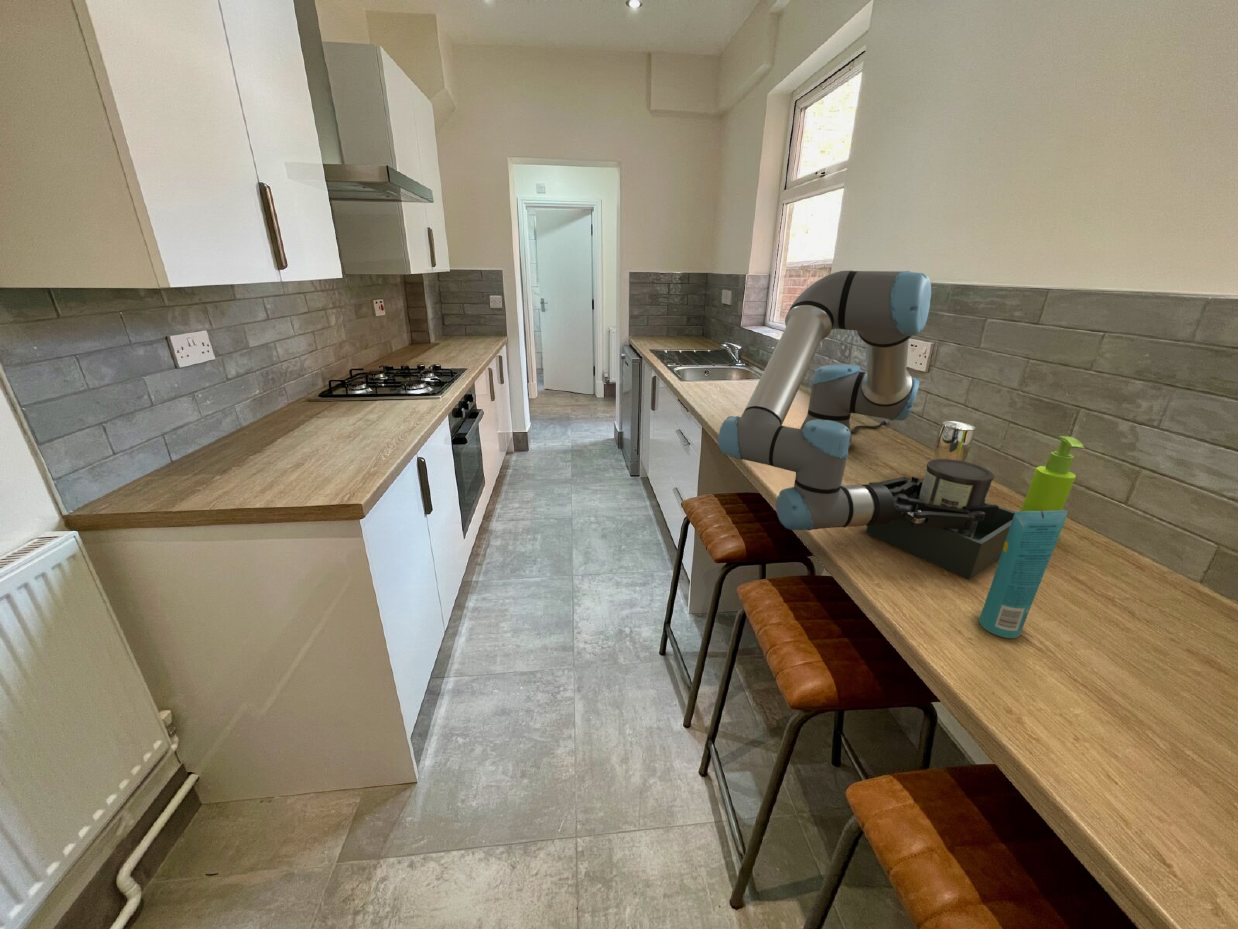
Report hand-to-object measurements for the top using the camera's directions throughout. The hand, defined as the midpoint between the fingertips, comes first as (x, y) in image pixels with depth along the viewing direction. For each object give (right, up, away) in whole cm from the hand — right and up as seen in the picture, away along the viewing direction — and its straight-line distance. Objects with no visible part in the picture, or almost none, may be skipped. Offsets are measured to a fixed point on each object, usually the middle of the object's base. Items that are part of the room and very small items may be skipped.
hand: (970, 499), depth 92 cm
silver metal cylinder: (+13, +2, +28) cm, 31 cm away
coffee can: (-4, -7, +2) cm, 9 cm away
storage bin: (-4, -8, +3) cm, 10 cm away
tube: (-11, -18, -20) cm, 29 cm away
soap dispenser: (+17, -7, +6) cm, 20 cm away
